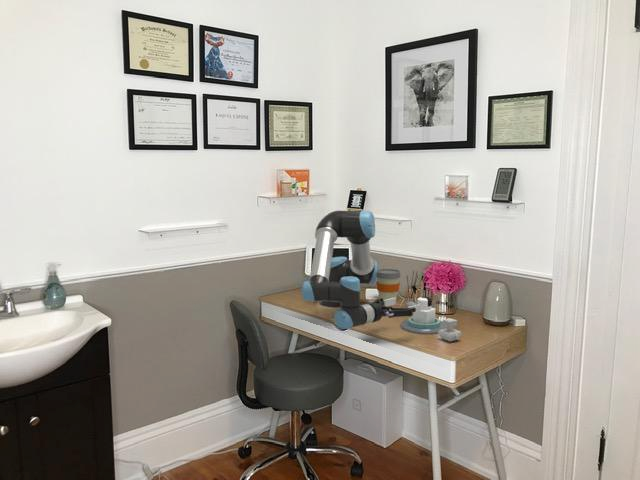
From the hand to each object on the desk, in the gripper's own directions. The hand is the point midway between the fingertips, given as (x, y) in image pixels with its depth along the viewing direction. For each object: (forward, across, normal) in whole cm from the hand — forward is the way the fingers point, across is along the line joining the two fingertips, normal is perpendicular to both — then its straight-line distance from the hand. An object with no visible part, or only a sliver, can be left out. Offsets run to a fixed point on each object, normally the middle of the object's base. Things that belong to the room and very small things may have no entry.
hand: (406, 304), depth 225 cm
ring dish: (+10, 0, -12) cm, 16 cm away
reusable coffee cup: (+31, -43, -12) cm, 55 cm away
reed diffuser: (+21, -17, -12) cm, 30 cm away
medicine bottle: (+10, 0, -11) cm, 15 cm away
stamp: (+5, +18, -12) cm, 23 cm away
